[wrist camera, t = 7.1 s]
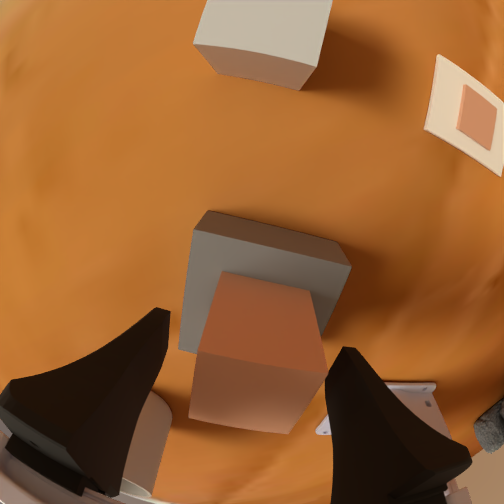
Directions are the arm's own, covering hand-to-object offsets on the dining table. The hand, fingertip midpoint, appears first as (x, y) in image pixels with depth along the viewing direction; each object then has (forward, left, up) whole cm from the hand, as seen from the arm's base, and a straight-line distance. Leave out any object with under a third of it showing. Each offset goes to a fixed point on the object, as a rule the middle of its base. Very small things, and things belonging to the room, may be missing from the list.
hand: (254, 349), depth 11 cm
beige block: (+3, -13, -6) cm, 14 cm away
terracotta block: (0, 0, -2) cm, 2 cm away
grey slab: (0, 0, -5) cm, 5 cm away
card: (-10, -14, -5) cm, 18 cm away
